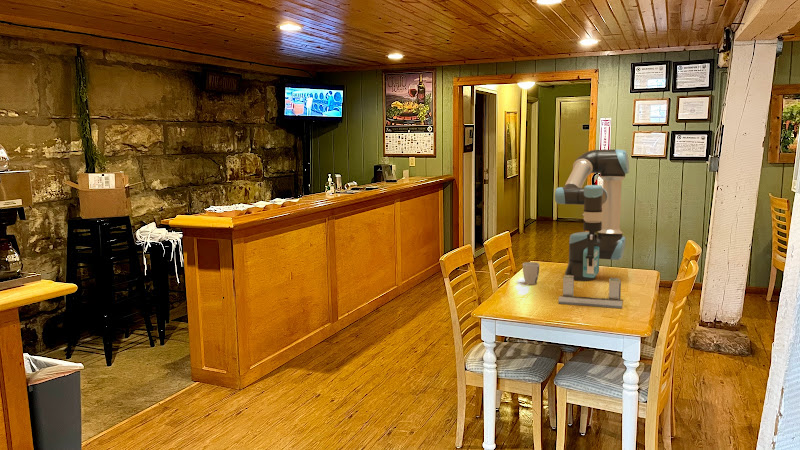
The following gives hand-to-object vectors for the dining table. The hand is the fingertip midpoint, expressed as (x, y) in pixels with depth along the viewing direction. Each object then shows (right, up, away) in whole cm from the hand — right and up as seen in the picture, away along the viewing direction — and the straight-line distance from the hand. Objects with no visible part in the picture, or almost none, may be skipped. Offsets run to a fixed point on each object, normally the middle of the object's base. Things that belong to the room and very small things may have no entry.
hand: (591, 270), depth 261 cm
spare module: (+12, -13, +5) cm, 19 cm away
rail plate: (0, -14, +1) cm, 14 cm away
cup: (-18, -10, +36) cm, 42 cm away
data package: (0, -2, 0) cm, 2 cm away
